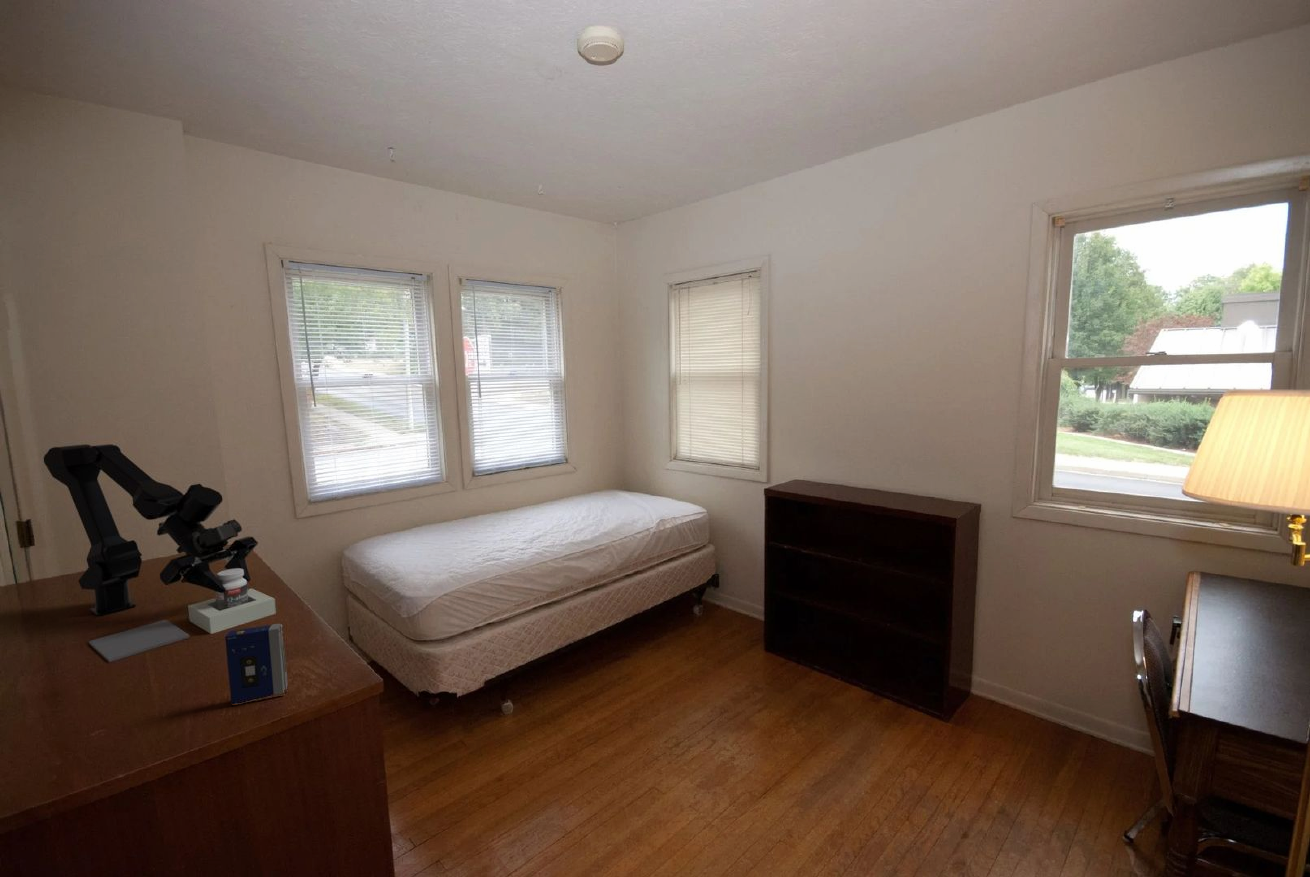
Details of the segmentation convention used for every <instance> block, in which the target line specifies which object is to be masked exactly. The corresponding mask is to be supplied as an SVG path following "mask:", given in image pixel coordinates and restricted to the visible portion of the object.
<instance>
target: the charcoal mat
mask: <svg viewBox="0 0 1310 877" xmlns="http://www.w3.org/2000/svg"><path fill="white" fill-rule="evenodd" d="M188 638H190V634H189V633H187V632H185V631H184V630H182V629H181V628H180V627H178V626H176V625H175V624H173V623H171V622H170V621H168V620H167V619H163V620H160V621H155V622H152V623H149V624H145V625H141V626H139V627H135V628H131V629H128V630H123V631H121V632H117V633H113V634H110V635H106V636H103V637H100V638H95V639H92V640H91V639H90V640H88V644H89V645H90V646H91V647H92V648H93V649H94V650H95V651H96V652H97V653H98V654H100V655H101V656H102V657H103V658H104V659H105V660H106V661H107V662H108V663H110V662H115V661H118V660H120V659H124V658H127V657H130V656H134V655H137V654H140V653H143V652H147V651H149V650H153V649H156V648H160V647H162V646H165V645H169V644H172V643H175V642H179V641H182V640H185V639H188Z"/></svg>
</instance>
